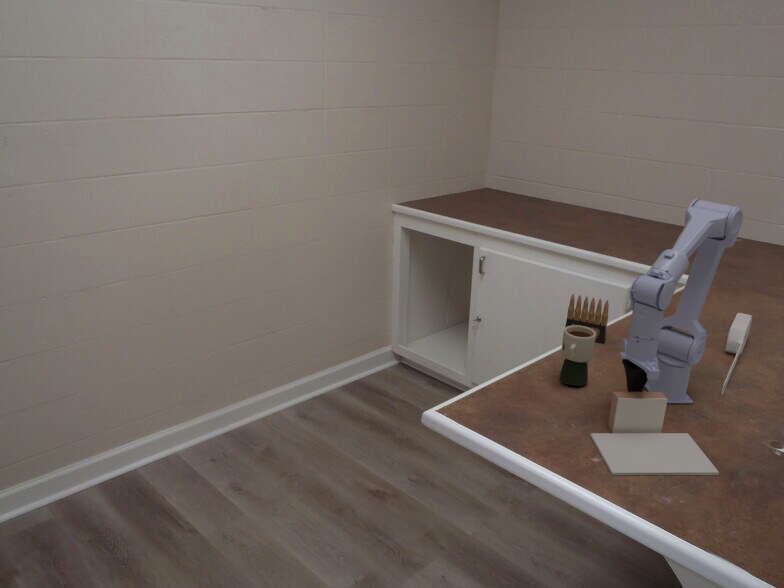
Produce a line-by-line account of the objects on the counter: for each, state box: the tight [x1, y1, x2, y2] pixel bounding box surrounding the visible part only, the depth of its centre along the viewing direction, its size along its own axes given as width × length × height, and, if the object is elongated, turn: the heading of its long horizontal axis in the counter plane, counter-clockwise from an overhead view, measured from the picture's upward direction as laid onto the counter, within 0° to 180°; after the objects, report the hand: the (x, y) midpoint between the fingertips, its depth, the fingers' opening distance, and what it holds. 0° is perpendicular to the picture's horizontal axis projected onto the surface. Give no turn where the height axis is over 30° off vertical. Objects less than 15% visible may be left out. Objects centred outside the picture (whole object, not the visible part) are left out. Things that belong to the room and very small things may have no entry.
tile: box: [607, 391, 668, 433], centre depth 137 cm, size 3×10×8 cm, turn 92°
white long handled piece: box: [720, 312, 753, 396], centre depth 167 cm, size 38×8×4 cm
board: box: [589, 432, 720, 476], centre depth 130 cm, size 13×20×1 cm, turn 92°
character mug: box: [559, 325, 596, 387], centre depth 154 cm, size 11×7×13 cm, turn 148°
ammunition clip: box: [564, 293, 610, 345], centre depth 177 cm, size 11×2×12 cm, turn 63°
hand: (633, 394), depth 139 cm, fingers closed
